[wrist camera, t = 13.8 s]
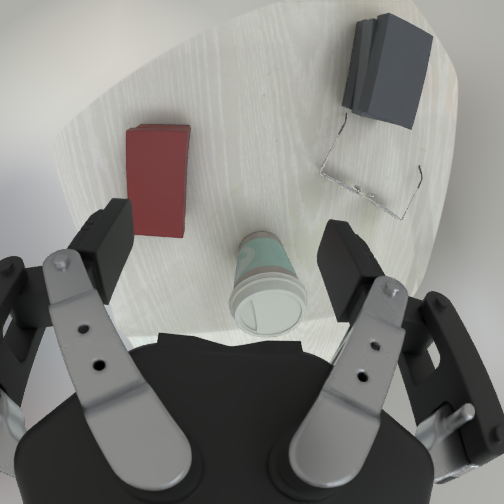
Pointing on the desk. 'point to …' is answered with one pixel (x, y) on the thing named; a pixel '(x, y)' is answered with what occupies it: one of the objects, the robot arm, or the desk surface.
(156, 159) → the thin oxblood book
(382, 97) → the grey books
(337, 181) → the eyeglasses
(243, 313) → the coffee cup
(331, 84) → the desk surface
